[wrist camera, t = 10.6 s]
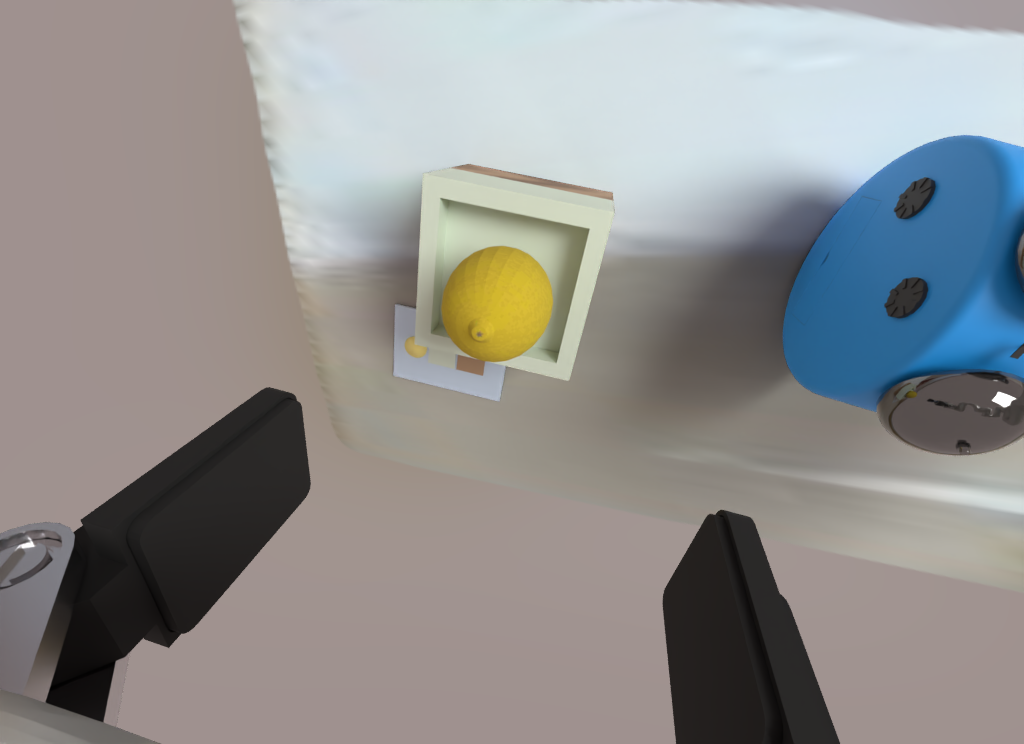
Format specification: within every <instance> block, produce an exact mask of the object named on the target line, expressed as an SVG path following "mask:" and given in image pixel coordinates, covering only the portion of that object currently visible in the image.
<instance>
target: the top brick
mask: <svg viewBox="0 0 1024 744" xmlns="http://www.w3.org/2000/svg"><path fill="white" fill-rule="evenodd" d="M614 213H615V210H614V202H613V200H608V199H603V198H598V197H593V196H588V195H583V194H578V193H573V192H568V191H563V190H558V189H553V188H548V187H543V186H538V185H533V184H528V183H523V182H518V181H513V180H509V179H504V178H499V177H494V176H489V175H484V174H479V173H474V172H469V171H464V170H459V169H454V168H447V169H442V170H437V171H432V172H428V173H423V182H422V203H421V223H420V243H419V263H418V283H417V304H416V324H415V345H420V346H424V347H428V348H432V349H436V350H441V351H445V352H449V353H453V354H457V355H461V356H466V357H470V358H473V357H471V356H469V355H467V354H466V353H464V352H462V351H461V350H460V349H459V348H458V347H457V346H456V345H455V344H454V343H453V341H452V340H451V338H450V337H449V335H448V334H447V332H446V329H445V326H444V324H443V319H442V310H441V306H442V299H443V292H444V289H445V287H446V284H447V282H448V280H449V277H450V275H451V274H452V272H453V271H454V270H455V269H456V268H457V266H458V265H459V264H460V263H461V262H462V261H463V260H464V259H465V258H467V257H468V256H470V255H471V254H473V253H474V252H476V251H479V250H482V249H484V248H487V247H492V246H507V247H512V248H517V249H519V250H521V251H523V252H525V253H528V254H529V255H530V256H532V257H533V258H534V259H535V260H536V261H538V262H539V264H540V265H541V267H542V268H543V269H544V271H545V272H546V274H547V276H548V279H549V281H550V284H551V287H552V295H553V306H552V313H551V318H550V320H549V323H548V325H547V327H546V330H545V332H544V333H543V335H542V336H541V337H540V338H539V340H538V341H537V342H536V343H535V344H534V346H532V347H531V348H530V349H529V350H527V351H526V352H524V353H523V354H522V355H520V356H518V357H515V358H513V359H510V360H508V361H502V362H491V363H495V364H499V365H503V366H508V367H512V368H516V369H520V370H524V371H529V372H533V373H537V374H541V375H545V376H549V377H554V378H558V379H562V380H566V381H569V379H570V376H571V372H572V368H573V365H574V361H575V357H576V354H577V350H578V346H579V343H580V339H581V335H582V331H583V328H584V324H585V320H586V317H587V313H588V309H589V306H590V302H591V298H592V295H593V291H594V287H595V283H596V280H597V276H598V272H599V269H600V265H601V261H602V258H603V254H604V250H605V247H606V243H607V239H608V236H609V232H610V228H611V224H612V221H613V217H614ZM474 359H476V358H474Z"/></svg>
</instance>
